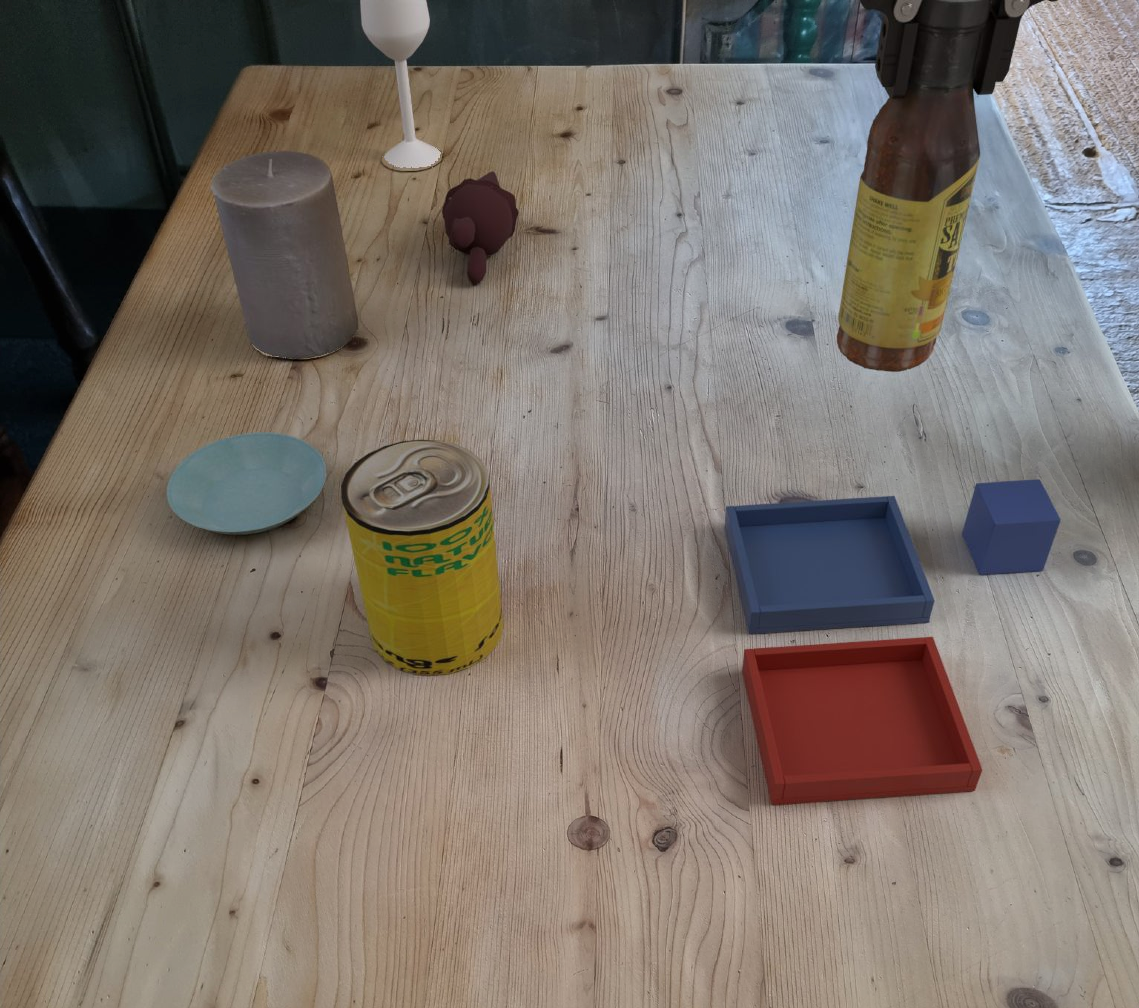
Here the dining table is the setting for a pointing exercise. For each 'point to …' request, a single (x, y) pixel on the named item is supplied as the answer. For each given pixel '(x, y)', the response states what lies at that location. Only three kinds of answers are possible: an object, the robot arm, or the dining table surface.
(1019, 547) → the blue block
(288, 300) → the pillar candle
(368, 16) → the champagne flute
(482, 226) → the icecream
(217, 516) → the saucer
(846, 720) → the red tray
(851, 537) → the blue tray
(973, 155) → the sauce bottle
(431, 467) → the beverage can
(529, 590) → the dining table surface
